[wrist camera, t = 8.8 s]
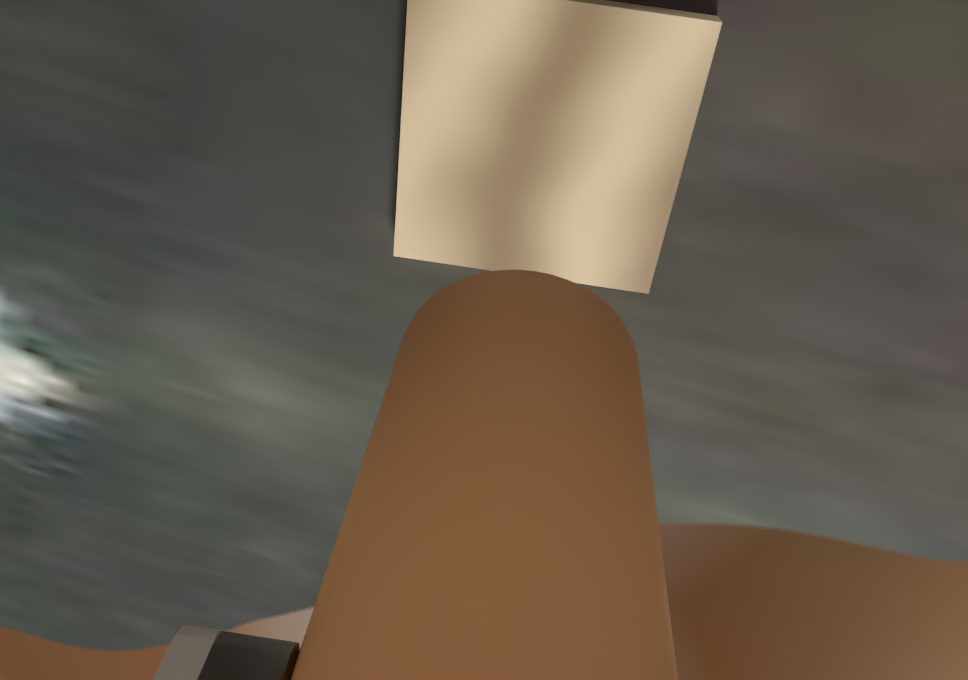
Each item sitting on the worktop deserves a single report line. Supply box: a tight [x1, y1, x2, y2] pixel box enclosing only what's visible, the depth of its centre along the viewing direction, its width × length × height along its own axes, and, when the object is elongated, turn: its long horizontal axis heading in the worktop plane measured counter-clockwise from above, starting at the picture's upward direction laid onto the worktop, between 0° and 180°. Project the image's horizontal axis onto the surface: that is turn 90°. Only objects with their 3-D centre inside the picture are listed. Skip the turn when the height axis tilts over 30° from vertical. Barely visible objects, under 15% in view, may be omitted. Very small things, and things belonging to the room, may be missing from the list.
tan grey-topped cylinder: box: [290, 270, 678, 680], centre depth 12 cm, size 5×5×11 cm
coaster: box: [394, 0, 722, 294], centre depth 28 cm, size 10×10×1 cm
